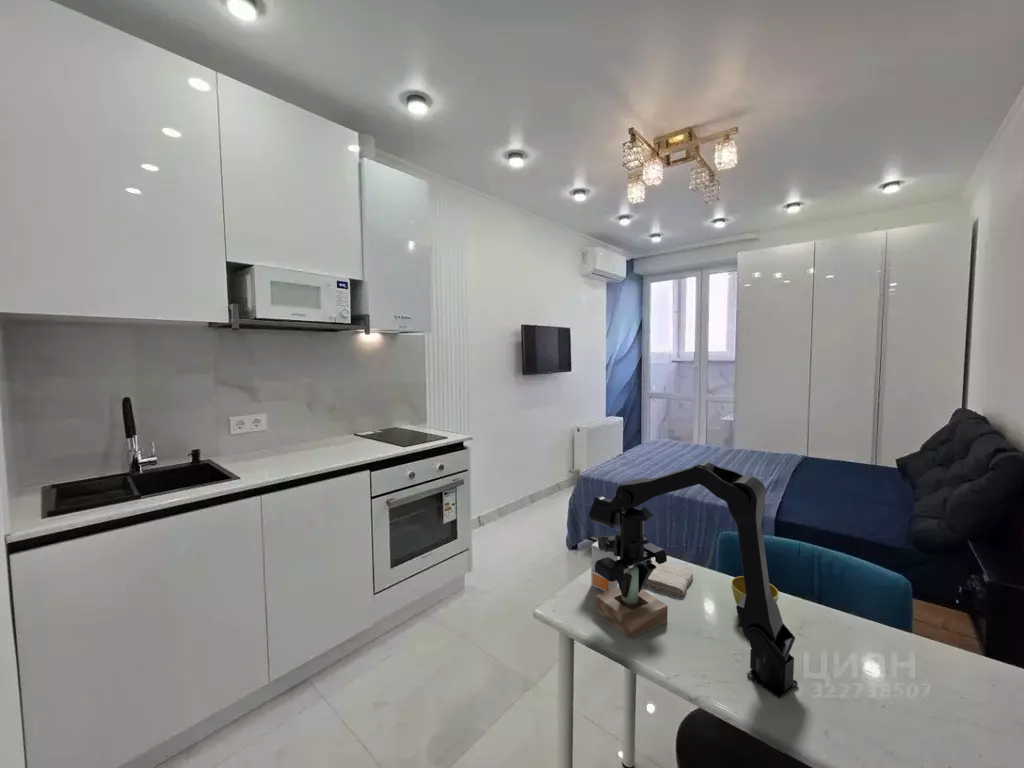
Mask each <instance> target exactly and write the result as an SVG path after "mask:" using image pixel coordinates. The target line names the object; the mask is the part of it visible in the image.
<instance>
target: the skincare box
mask: <svg viewBox="0 0 1024 768" xmlns="http://www.w3.org/2000/svg"><path fill="white" fill-rule="evenodd" d="M606 557H609V558H611V559H613V560H614V561H616V560H619V559H618V557H619V556H617V557H616V556H615V555H613V552H605V551H604V550H600V549H599V546H598V540H597V541H595V542H594V543H592V544H591V560H590V561H591V562H590V563H591V564H590V565H591V571H590V572H591V575H590V577H591V579H590V581H591V583H590V585H591V586H592V587H594V588H597V589H600V590H601V591H604V592H606V591H609V590H611V589H614V588H616V587H618V582H617V580H616V581H614V582H611V581H608V580H607V579H605V578H604V577H602V576H601V575H599V574H598V573H596V572H595V562H596V561H597V560H600V559H603V558H606Z"/></svg>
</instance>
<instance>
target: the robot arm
mask: <svg viewBox="0 0 1024 768" xmlns="http://www.w3.org/2000/svg"><path fill="white" fill-rule="evenodd" d="M697 485H701V486H702V487H704V488H705V489H707V490H708V491H709V492H710V493H712V495H714V496H715V497H716V498H718V499H721V500H722V501H724V502H726V505H727V508H728V511H729V514H730V516H731V517H732V519H733V521H734V523H735V525H736V528H737V534H738V535H737V536H738V542H739V543H738V544H739V551H740V559H741V565H742V567H741V568H742V574H743V575H742V576H744V584H745V591H746V594H744V596H743V597H742V599H741V600H740V602H739V603H738V605H737V604H736V607H735V608H736V612H737V616H738V624H737V627H738V628H741V632H742V634H743V636H744V638H745V639H747V640H748V642H749V645H750V648H751V649H750V653H749V654H750V659H749V662H750V663H749V667H750V669H751V670H749V671H747V673H746V675H747V677H748V678H749V679H751V680H752V681H754V682H755V683H757V685H760V687H762V688H763V689H765V690H767V691H768V692H770V693H772V695H774V696H775V697H777V698H779V699H780V698H783V697H784V696H785V695H787V694H788V693H789V692H790V691H792V690H793V689H794V688H796V687H797V686H798V684H799V683H798V681H797V680H795V679H794V675H795V674H794V673H795V657H794V656H792V655H791V654H790V652H791V651H792V648H793V645H794V643H795V641H796V636H795V635H794V634H793V633H792V631H791V630H790V629H789V628H788V627H787V626H786V624H785V623H784V621H783V618H782V615H781V611H780V609H779V605H778V603H776V602H775V600H774V598H773V597H772V595H771V592H770V585H769V583H770V579H769V578H770V577H769V572H768V571H769V570H768V564H767V556H766V554H767V553H766V549H765V539H764V533H763V525H762V524H763V523H762V522H763V517H764V512H765V511H764V510H765V508H766V507H765V505H766V494H767V493H766V491H767V490H766V487H765V485H764V483H763V482H762V481H761V480H759V478H757V477H754V476H752V475H744V474H741V473H739V472H736V471H734V470H730V469H727V468H724V467H721V466H718V465H715V464H713V463H712V462H708V461H701V462H700V463H697V464H696V465H693V466H689V467H686V468H683V469H679V470H676V471H674V472H670V473H666V474H664V475H661V476H657V477H654V478H653V477H651V478H635V479H632V480H629V481H628V482H625V483H622V484H620V485H619V486H617V488H616V491H615V496H614V497H613V499H610V498H606V497H604V496H602V495H597V496H594V499H593V503H592V504H591V507H590V510H589V516H588V517H589V519H590V521H591V522H593V523H596V524H598V525H601V526H605V527H608V528H611V529H614V528H616V527H617V526H619V531H618V532H619V533H617V534H615V535H611V536H607V535H606V536H604V535H602V536H598V538H597V541H598V546H599V549H600V550H604V551H605V552H613V555H615V556H616V557H617V556H618V557H619V559H618V560H616V561H614V560H613V559H611V558H609V557H606V558H603V559H600V560H597V561H596V562H595V572H596V573H598V574H599V575H601V576H602V577H604V578H605V579H607V580H608V581H611V582H614V581H616V580H617V586H618V587H619V588H620V590H621V593H622V596H623V597H625V598H627V596H628V592H629V588H630V584H631V579H632V575H630V574H628V567H630V566H633V565H635V566H637V567H638V568H639V587H638V593H639V592H640V591H641V589H643V587H644V586H645V585H644V584H645V582H646V581H647V579H648V578H649V576H650V574H651V573H652V571H653V570H654V569H656V566H655V565H654V564H652V561H651V560H652V558H654V559H655V561H656V562H657V563H658V564H662V563H667V560H668V558H667V557H668V556H667V555H668V554H667V552H666V550H665V549H664V548H662V547H660V546H657V545H656V544H653V543H652V542H649V543H648V541H649V539H648V538H647V537H645V522H647V521H649V520H650V519H652V518H653V517H654V514H653V513H652V512H651V511H649V509H648V508H647V507H646V506H644V507H642V508H637V506H640V505H642V504H644V503H645V502H648V501H649V500H651V499H653V498H655V497H659V496H662V495H666V494H669V493H673V492H675V491H680V490H683V489H687V488H690V487H693V486H697Z"/></svg>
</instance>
